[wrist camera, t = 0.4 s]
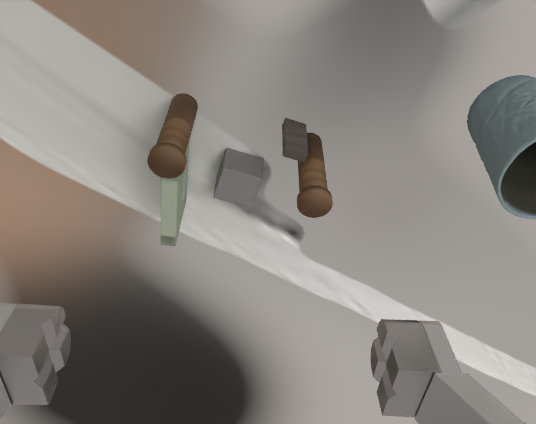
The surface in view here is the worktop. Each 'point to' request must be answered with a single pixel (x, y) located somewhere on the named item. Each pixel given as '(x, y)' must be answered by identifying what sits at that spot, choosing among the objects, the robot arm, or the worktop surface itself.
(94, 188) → the worktop surface
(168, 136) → the hinge post
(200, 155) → the worktop surface
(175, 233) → the block
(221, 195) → the rubber block
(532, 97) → the teal cup
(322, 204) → the post
